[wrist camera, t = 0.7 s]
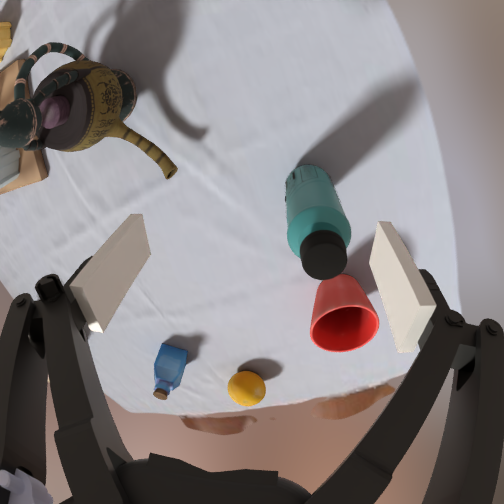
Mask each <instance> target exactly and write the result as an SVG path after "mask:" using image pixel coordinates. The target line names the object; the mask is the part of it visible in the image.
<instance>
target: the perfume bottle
mask: <svg viewBox="0 0 504 504" xmlns="http://www.w3.org/2000/svg"><path fill="white" fill-rule="evenodd" d="M187 353H188V351H186V350H182V349H179V348H176V347H172V346H169V345H166V344H163V343H162V345H161V348H160V350H159V353H158V355H157V358H156V360H155V363H154V379H155V384H156V385H155V388H154V390H155V391H154V393H153V395H154V396H155V397H156V398H158V399H162V400H166V399H167V395H169V393H170V390H172V391H173V390H174V389H175V388H177V387H178V386H179V385H180V382H181V379H182V375H183V372H184V369H185V366H186V359H187Z"/></svg>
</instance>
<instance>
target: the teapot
mask: <svg viewBox="0 0 504 504" xmlns="http://www.w3.org/2000/svg"><path fill="white" fill-rule="evenodd" d="M49 52H58V53H62V54H66V55H68V56H70V57H72V58H73V59H74V60H76V61H73V62H70V63H68V64H65V65H63V66H61V67H59V68H57V69H56V70H54V71H53V72H52V73H51V74H49V75H48V76H47V77H46V78H45V79H44V80H42V81H41V83H40V84H39V86H38V87H37V89H36V90H35V93H34V96H33V98H32V99H25V85H26V80H27V77H28V75H29V73H30V70H31V68H32V66H33V65H34V64H35V63H36V62H37V61H38V59H39V58H40V57H42V56H43V55H45V54H47V53H49ZM136 98H137V97H136V87H135V85H134V82H133V80H132V79H131V77H130V76H129V75H128V74H127V73H125V72H123V71H121V70H116V69H109V68H108V67H106V66H104V65H102V64H100V63H98V62H94V61H91V60H89V59H88V58H86V57H85V56H84V55H83V54H82V53H81V52H80V51H79V50H77V49H75V48H73V47H71V46H69V45H66V44H62V43H54V42H50V43H47V44H45V45H42V46H41V47H39V48H38V49H37V50H36V51H35V52H33V53H32V54H31V55H30V56H29V57H28V59H27V60H26V61H25V62H24V63H23V65H22V67H21V69H20V71H19V73H18V75H17V77H16V81H15V87H14V101H13V102H11V103H9V104H7V105H6V107H5V108H4V109H3V110H2V111H0V146H1V147H5V148H23V149H24V151H36V150H42V149H44V148H46V147H48V148H51V149H55V150H59V151H65V152H74V151H80V150H84V149H87V148H89V147H91V146H93V145H94V144H96V143H98V142H99V141H101V140H102V139H103V138H104V137H118V138H121V139H124V140H126V141H129V142H131V143H133V144H134V145H136V146H137V147H139V148H140V149H141V150H142V151H144V152H145V153H146V154H147V155H148V156H149V157H151V158H152V159H153V160H154V161H155V162H156V163H157V164H158V165H159V166H160V168H161V169H162V171H163V174H164V176H165V178H166V179H169V178H171V177H172V176H173V175H174V174H175V173H176V172H177V170H178V168H177V167H176V165H175V164H174V163H173V162H172V161H171V160H170V159H169V157H168V156H167V155H166V154H165V153H164V152H163V151H162V150H161V149H160V148H159V147H157V146H156V145H155V144H154V143H152V142H151V141H149V140H147V139H146V138H144V137H143V136H141V135H140V134H138V133H136V132H135V131H133V130H132V129H130V128H129V127H127V126H126V125H125V124H124V123H123V121H125V120H126V119H127V118H128V117H129V116H130V114H131V113H132V111H133V109H134V107H135V102H136ZM35 135H36V136H37V137H38V138H39V139H38V140H35V139H34V140H33V138H34V137H35Z"/></svg>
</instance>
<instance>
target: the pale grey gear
mask: <svg viewBox="0 0 504 504" xmlns="http://www.w3.org/2000/svg"><path fill="white" fill-rule="evenodd" d="M19 158H20V153H19V149H18V150H16V148H5V147H1V146H0V189H1V188H2V187H4V186H6V185H7V184H9V183H10V182H12V181H14V180H15V179H17V178H18V176H19V174H20V173H19V171H18V167H19Z"/></svg>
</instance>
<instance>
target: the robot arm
mask: <svg viewBox="0 0 504 504" xmlns="http://www.w3.org/2000/svg"><path fill="white" fill-rule="evenodd" d="M150 255H151V252H150V248H149V243H148V239H147V234H146V229H145V225H144V220H143V215H142V214H131V215H130V216H129V217H128V218H127V219H126V220H125V221H124V222H123V223H122V224H121V225H120V226H119V228H118V229H117V230H116V231H115V232H114V233H113V234H112V235H111V236H110V237H109V239H108V240H107V241H106V242H105V243H104V244H103V245H102V247H101V248H100V249H99V250H98V251H97V252H96V254H95V255H94V256H91V257H89V258H88V259H86V260H85V261H84V262H83V263H82V264H81V265H80V266H79V269H77V270H76V271H75V274H73V275H72V276H71V277H70V279H69V280H68V281H67V282H66V284H65V285H64V286H62V284H61V281H60V279H59V277H58V275H56V274H50V275H46V276H45V277H43V278H41V279H40V280H39V281H38V282H37V283H36V286H35V289H36V291H37V293H38V295H39V297H40V299H41V300H38V301H33V299H32V297H31V295H30V294H28V293H24V294H21V295H18V296H17V297H16V298H15V299H14V300H13V302H12V303H11V306H10V309H9V312H8V314H7V317H6V321H5V324H4V327H3V330H2V333H1V336H0V504H53V498H52V497H51V495H50V494H49V493H48V491H47V489H46V487H45V484H46V443H45V420H46V395H47V382H48V375H49V381H50V387H51V393H52V398H53V403H54V408H55V412H56V417H57V421H58V425H59V430H57V431H55V433H54V438H55V443H56V445H57V450H58V454H59V457H60V460H61V464H62V467H63V470H64V473H65V476H66V479H67V482H68V484H69V487H70V490H71V493H72V495H73V496H72V497H70V498H68V499H67V500H65V501H63V502H61V503H59V504H374V503H375V502H376V500H377V499H378V498H379V497H380V495H381V494H382V493H383V491H384V490H385V489H386V487H387V486H388V484H389V483H390V481H391V479H392V474H393V472H394V470H395V468H396V467H397V465H398V464H399V462H400V461H401V460H402V458H403V456H404V455H405V453H406V452H407V450H408V449H409V447H410V445H411V444H412V442H413V440H414V439H415V437H416V435H417V434H418V432H419V430H420V428H421V427H422V425H423V423H424V421H425V419H426V418H427V416H428V414H429V412H430V410H431V408H432V406H433V404H434V402H435V400H436V398H437V396H438V394H439V392H440V390H441V387H442V386H443V383H444V381H445V379H446V377H447V374H448V372H449V370H450V368H453V369H454V377H453V384H452V391H451V397H450V403H449V409H448V414H447V419H446V424H445V429H444V433H443V437H442V441H441V445H440V449H439V453H438V457H437V460H436V464H435V467H434V471H433V474H432V477H431V480H430V483H429V486H428V489H427V491H426V494H425V497H424V500H423V502H422V504H492V501H493V496H494V492H495V488H496V484H497V479H498V473H499V468H500V462H501V456H502V448H503V441H504V332H503V329H502V327H501V326H500V324H499V323H497V322H496V321H494V320H492V319H484V320H482V322H481V323H480V325H479V326H475V325H471V324H467V323H466V322H465V320H464V318H463V317H462V315H461V314H459V313H458V312H456V311H454V310H450V308H449V306H448V304H447V302H446V300H445V298H444V296H443V294H442V293H441V291H440V289H439V287H438V285H436V284H437V283H436V281H435V280H434V278H433V276H432V275H431V274H430V273H429V272H428V271H426V270H425V269H418V268H417V266H416V264H415V263H414V261H413V259H412V257H411V255H410V254H409V252H408V250H407V248H406V247H405V245H404V243H403V242H402V240H401V238H400V236H399V235H398V233H397V231H396V230H395V228H394V227H393V225H392V223H391V222H384V221H378V224H377V229H376V234H375V238H374V243H373V248H372V252H371V256H370V261H369V265H370V267H371V270H372V273H373V276H374V278H375V281H376V284H377V287H378V290H379V293H380V296H381V299H382V302H383V305H384V308H385V311H386V314H387V318H388V321H389V324H390V327H391V331H392V334H393V338H394V341H395V345H396V348H397V352H398V353H404V352H413V351H414V349H415V347H416V346H417V344H419V347H420V352H419V354H418V355H417V357H416V359H415V360H414V362H413V364H412V366H411V367H410V369H409V371H408V373H407V374H406V376H405V377H404V379H403V381H402V382H401V384H400V385H399V387H398V389H397V390H396V392H395V393H394V395H393V396H392V398H391V399H390V401H389V402H388V404H387V405H386V407H385V408H384V409H383V411H382V412H381V414H380V415H379V417H378V418H377V419H376V421H375V422H374V423H373V425H372V426H371V428H370V429H369V430H368V431H367V433H366V434H365V435H364V437H363V438H362V439H361V441H360V442H359V443H358V444H357V445H356V447H355V448H354V449H353V450H352V452H351V453H350V454H349V455H348V456H347V457H346V459H345V460H344V461H343V462H342V463H341V464H340V465H339V467H338V468H337V469H336V470H335V471H334V472H333V473H332V474H331V475H330V476H329V478H328V479H327V480H326V481H325V482H324V483H323V484H322V485H321V486H320V487H319V488H318V489H317V490H316V491H315V492H314V493H313V494H312V495H311V494H310V493H309V492H308V491H307V490H306V489H304V488H303V487H301V486H300V485H298V484H296V483H294V482H293V481H290V480H287V479H285V478H281V477H278V471H264V470H263V471H262V470H250V469H243V470H233V471H224V472H207V471H205V470H202V469H200V468H198V467H195V466H193V465H191V464H188V463H186V462H184V461H182V460H180V459H175V458H170V457H166V456H162V455H158V454H153V453H150V455H149V458H148V459H139V460H133V458H132V456H131V455H130V454H129V452H128V451H127V449H126V448H125V446H124V444H123V442H122V439H121V437H120V435H119V432H118V430H117V427H116V425H115V423H114V420H113V417H112V415H111V412H110V410H109V407H108V404H107V402H106V399H105V396H104V393H103V390H102V387H101V384H100V381H99V378H98V375H97V372H96V369H95V365H94V362H93V359H92V355H91V351H90V348H89V344H88V340H87V336H86V332H85V330H84V329H83V326H84V325H85V323H86V322H87V324H88V326H89V328H90V330H91V331H96V332H101V333H104V331H105V329H106V327H107V326H108V324H109V322H110V320H111V319H112V317H113V315H114V313H115V312H116V310H117V308H118V307H119V305H120V303H121V301H122V300H123V298H124V296H125V295H126V293H127V291H128V290H129V288H130V287H131V285H132V283H133V282H134V280H135V278H136V277H137V275H138V274H139V272H140V270H141V269H142V267H143V266H144V264H145V263H146V261H147V259H148V258H149V256H150Z"/></svg>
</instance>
